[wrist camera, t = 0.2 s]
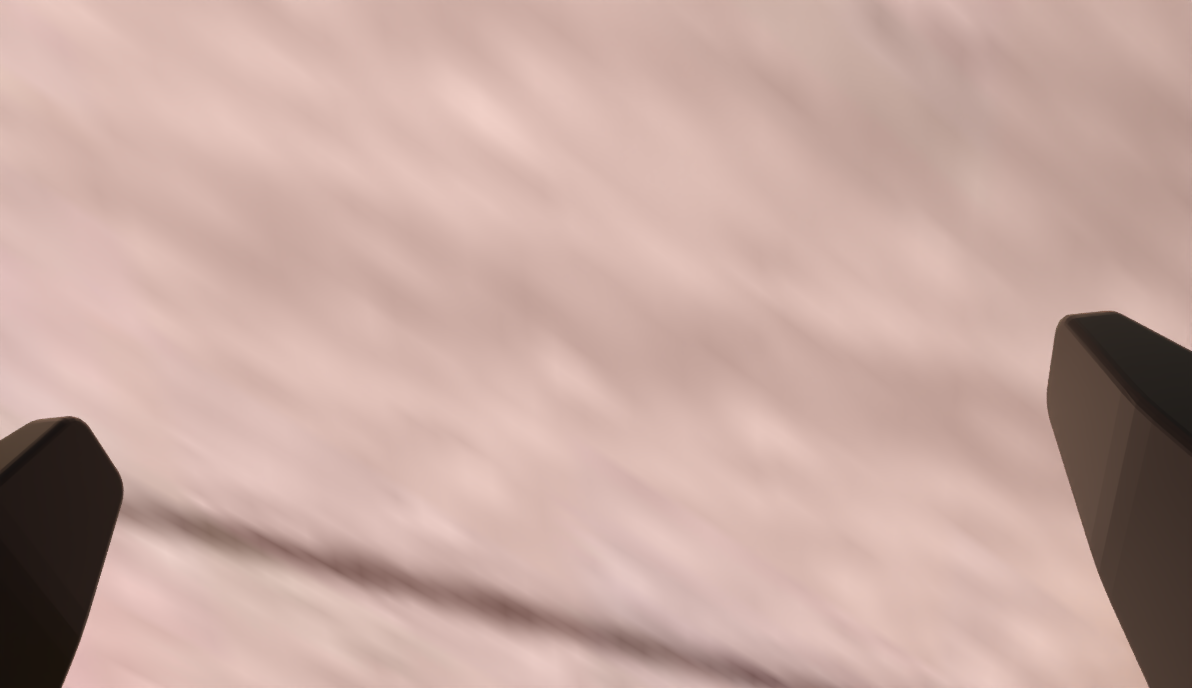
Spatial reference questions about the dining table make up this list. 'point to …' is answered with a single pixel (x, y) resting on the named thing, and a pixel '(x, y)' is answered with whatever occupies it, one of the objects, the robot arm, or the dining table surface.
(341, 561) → the dining table surface
